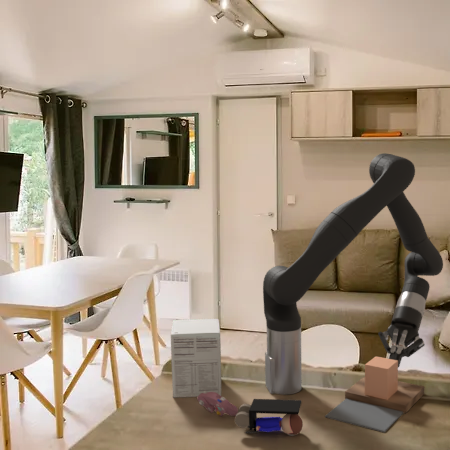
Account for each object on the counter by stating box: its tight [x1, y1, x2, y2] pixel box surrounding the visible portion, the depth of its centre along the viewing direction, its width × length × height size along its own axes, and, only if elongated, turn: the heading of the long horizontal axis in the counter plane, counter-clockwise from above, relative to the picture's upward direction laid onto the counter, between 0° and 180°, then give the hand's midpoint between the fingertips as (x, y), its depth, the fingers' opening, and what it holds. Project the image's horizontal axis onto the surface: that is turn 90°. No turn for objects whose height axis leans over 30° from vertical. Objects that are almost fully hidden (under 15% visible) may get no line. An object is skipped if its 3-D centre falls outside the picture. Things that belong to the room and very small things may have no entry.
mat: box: [324, 398, 404, 433], centre depth 156 cm, size 12×15×1 cm
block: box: [364, 356, 399, 400], centre depth 164 cm, size 7×6×8 cm
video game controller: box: [196, 391, 239, 417], centre depth 159 cm, size 10×5×7 cm
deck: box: [344, 376, 425, 414], centre depth 167 cm, size 14×16×2 cm
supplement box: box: [170, 318, 222, 398], centre depth 175 cm, size 13×13×18 cm
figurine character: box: [234, 398, 304, 437], centre depth 148 cm, size 7×8×15 cm
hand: (392, 367), depth 170 cm, fingers closed
